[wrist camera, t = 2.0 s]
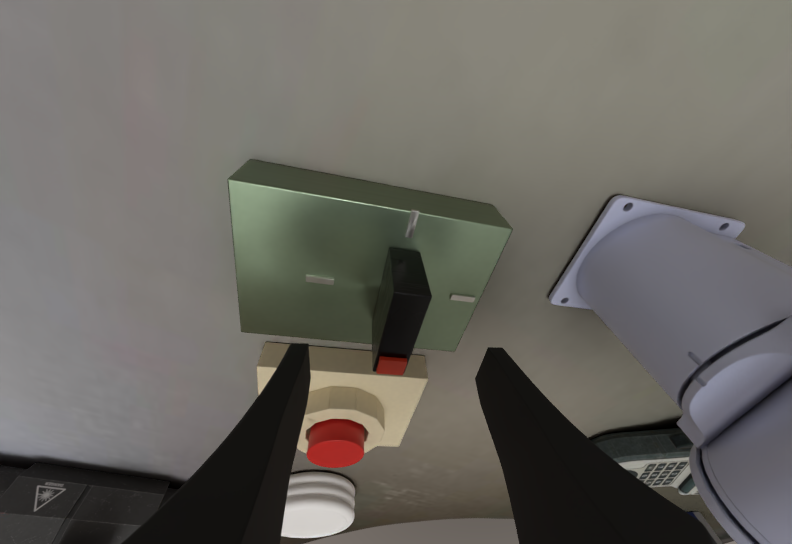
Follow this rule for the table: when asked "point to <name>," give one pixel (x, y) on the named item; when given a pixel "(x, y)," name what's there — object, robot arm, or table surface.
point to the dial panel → (352, 253)
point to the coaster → (318, 505)
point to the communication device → (653, 456)
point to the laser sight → (74, 505)
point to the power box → (353, 392)
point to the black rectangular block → (399, 311)
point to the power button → (336, 443)
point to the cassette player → (705, 523)
